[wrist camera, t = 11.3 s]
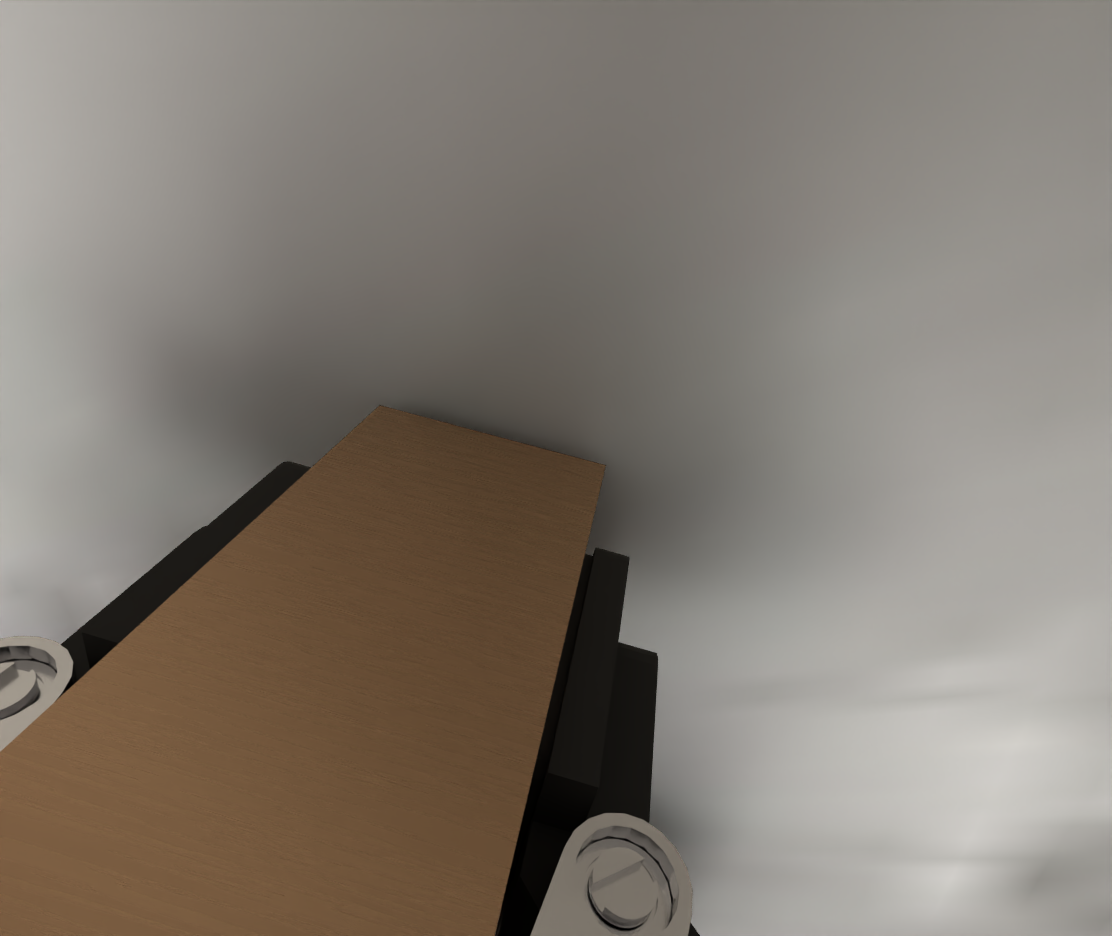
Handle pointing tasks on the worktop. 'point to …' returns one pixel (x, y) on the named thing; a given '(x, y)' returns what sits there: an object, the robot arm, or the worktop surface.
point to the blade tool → (316, 709)
